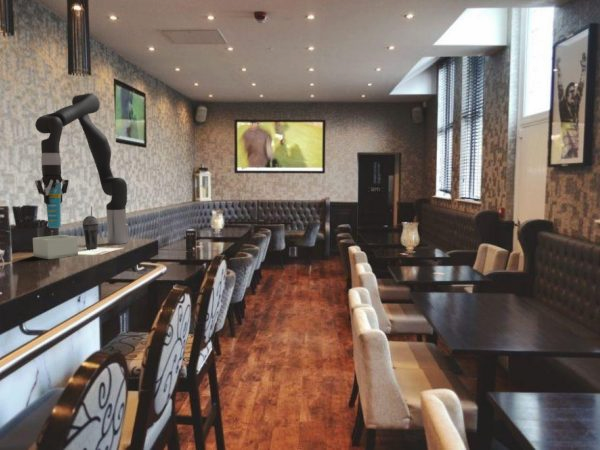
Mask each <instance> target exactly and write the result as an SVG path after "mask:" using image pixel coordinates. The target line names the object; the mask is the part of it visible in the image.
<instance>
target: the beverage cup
mask: <svg viewBox="0 0 600 450" xmlns="http://www.w3.org/2000/svg"><path fill="white" fill-rule="evenodd" d="M82 220H83V221H82V229H83V233H84V240H85V247H86V250H97V248H98V232H99V231H98V229H99V221H98V219H97V218H96V217H95V216H93V206H90V215H88V216H86V217H84V219H82Z"/></svg>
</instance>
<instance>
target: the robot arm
mask: <svg viewBox="0 0 600 450" xmlns="http://www.w3.org/2000/svg"><path fill="white" fill-rule="evenodd" d="M100 107H101V104H100V99H99V98H98V96H97V95H95V94H94V93H83V94H78V95H74V96H73V97H72V100H71V105H66V106H64V107H62V108H60V109H58V110H56V111H54V112H52V113H51V112H50V113H47V114H43V115H41V116H39V117H38V118H37V119H36V121H35V124H34V125H35V129H36V131H38V132H39V133H41V134H45V135H46V134H49V136H48V138H45V139H42V140H41V141H40V142H41V143H40V148H41V157H40V159H41V175H42V176H41V179H38V180H35V181H34V183H35V186H36V190H37V192H38V194H39V195H42V196H43V203H44V204H45V205H46V204H49V196H48V194H49V191H50V189H51V188H53V187H54V188H55V187H56V184H58V183H61V203H63V195H65V194H67V191H68V187H69V181H70V180H69V179H64V178H63V177H62V162H61V161H62V160H61V154H60V152H61V151H60V141H61V136H62V133H63V128H64V127H67V125H69V124H71V123H72V122H74V121H76V120H78V121H79V124H80V126H81V128H82V132H83V133H84V137H85V139H86V142H87V145H88V147H89V150H90V153H91V155H92V158H93V160H94V164H95V167H96V170H97V174H98V178H99V181H100V184H101V185H100V187H101V189H102V191H103V192H104V194H105V195H107V196H110V197H111V199H110V201H109V202H108V203H106V205H105V206H106V231H107V233H106V234H107V244H108V245H121V244H127V243H129V239H130V237H129V225H128V223H127V211H126V210H127V209H126V207H127V203H128V186H127V182H126V181H125V179H124V178H122V177H114V175H113V172H112V168H111V161H112V160H111V157H112V150H111V146H110V143H109V141H108V138H107V136H106V135H105V134H104V133H103V132H102V131H101V130H100V129H99V128H98V127H97V126H96V125H95V124H94V123H93V122H92V119H91V118H90V114H94V113H97V112H99V109H100ZM43 183H44V184H45V186H44V184H43ZM55 183H56V184H55Z"/></svg>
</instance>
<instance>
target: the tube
mask: <svg viewBox="0 0 600 450" xmlns="http://www.w3.org/2000/svg"><path fill="white" fill-rule="evenodd" d="M55 184H56V183H55ZM42 185H43V187H44V186H45V184H44V183H43V182H42ZM61 189H62V182H61V183H58V184H56V187H55V188H54V187H53V188H51V189H50V191H49V194H48V196H49V204H45V207H46V215H47V225H48V228H49V229H59V228H61V227H62V225H61V224H62V223H61V222H62V221H61V220H62V219H61V215H62V214H61V207H62V205H61V204H62V202H61Z"/></svg>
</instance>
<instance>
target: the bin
mask: <svg viewBox="0 0 600 450" xmlns="http://www.w3.org/2000/svg"><path fill="white" fill-rule="evenodd" d="M78 248H79V247H78V236H71V235H64V234H60V235H59V234H58V235H48V236H40V237H39V236H38V237H32V250H33V257H34V258H35V257H36V258H40V259H45V260H46V259H47V260H52V259H60V258H68V257H67V256H69V257H73V256H75V255H76V256H79V250H78ZM76 256H75V257H76Z"/></svg>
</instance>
